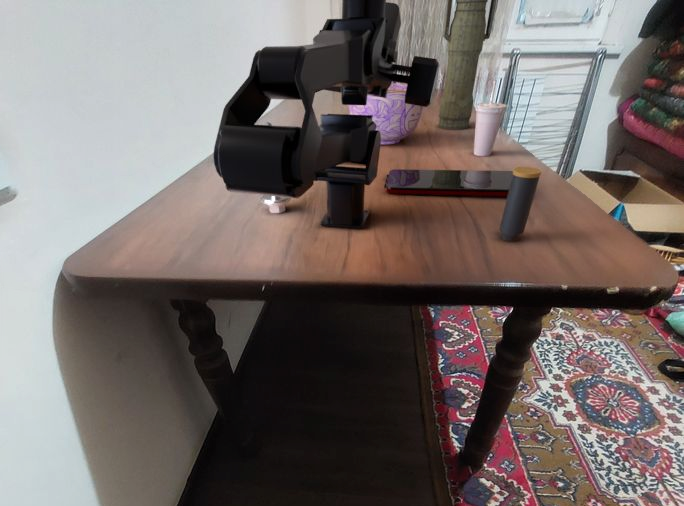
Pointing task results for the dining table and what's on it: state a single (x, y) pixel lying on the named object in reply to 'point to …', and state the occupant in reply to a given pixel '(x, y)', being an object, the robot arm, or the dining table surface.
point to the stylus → (519, 202)
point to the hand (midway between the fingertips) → (387, 81)
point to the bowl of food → (391, 114)
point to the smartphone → (449, 182)
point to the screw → (275, 200)
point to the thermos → (463, 59)
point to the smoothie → (487, 125)
